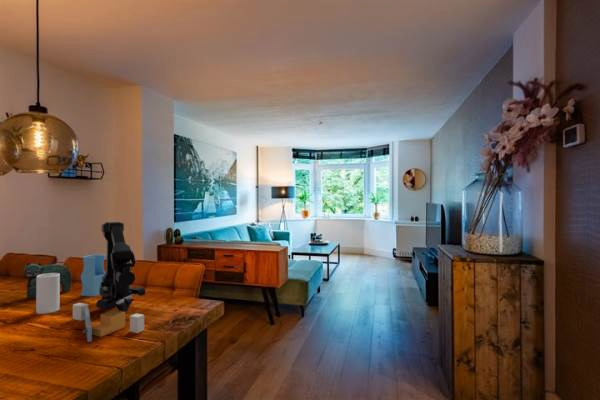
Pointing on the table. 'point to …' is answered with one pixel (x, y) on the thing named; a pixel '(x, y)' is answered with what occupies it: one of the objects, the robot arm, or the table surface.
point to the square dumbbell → (135, 319)
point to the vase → (92, 274)
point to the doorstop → (109, 323)
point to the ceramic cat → (36, 270)
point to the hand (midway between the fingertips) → (122, 317)
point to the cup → (47, 293)
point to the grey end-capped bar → (88, 325)
